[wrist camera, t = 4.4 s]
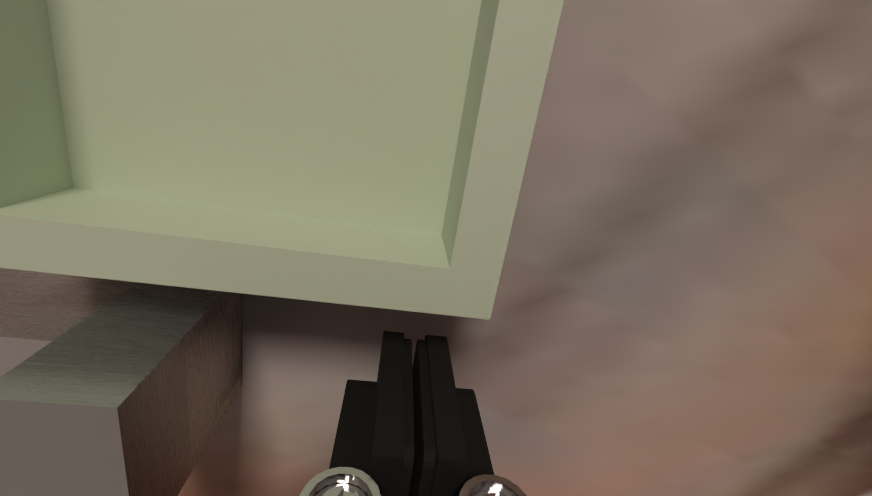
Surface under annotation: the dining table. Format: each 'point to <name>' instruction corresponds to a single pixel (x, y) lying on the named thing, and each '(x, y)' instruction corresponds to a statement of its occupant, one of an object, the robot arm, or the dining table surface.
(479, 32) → the tray
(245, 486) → the dining table surface
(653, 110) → the dining table surface
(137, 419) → the grey stepped block
